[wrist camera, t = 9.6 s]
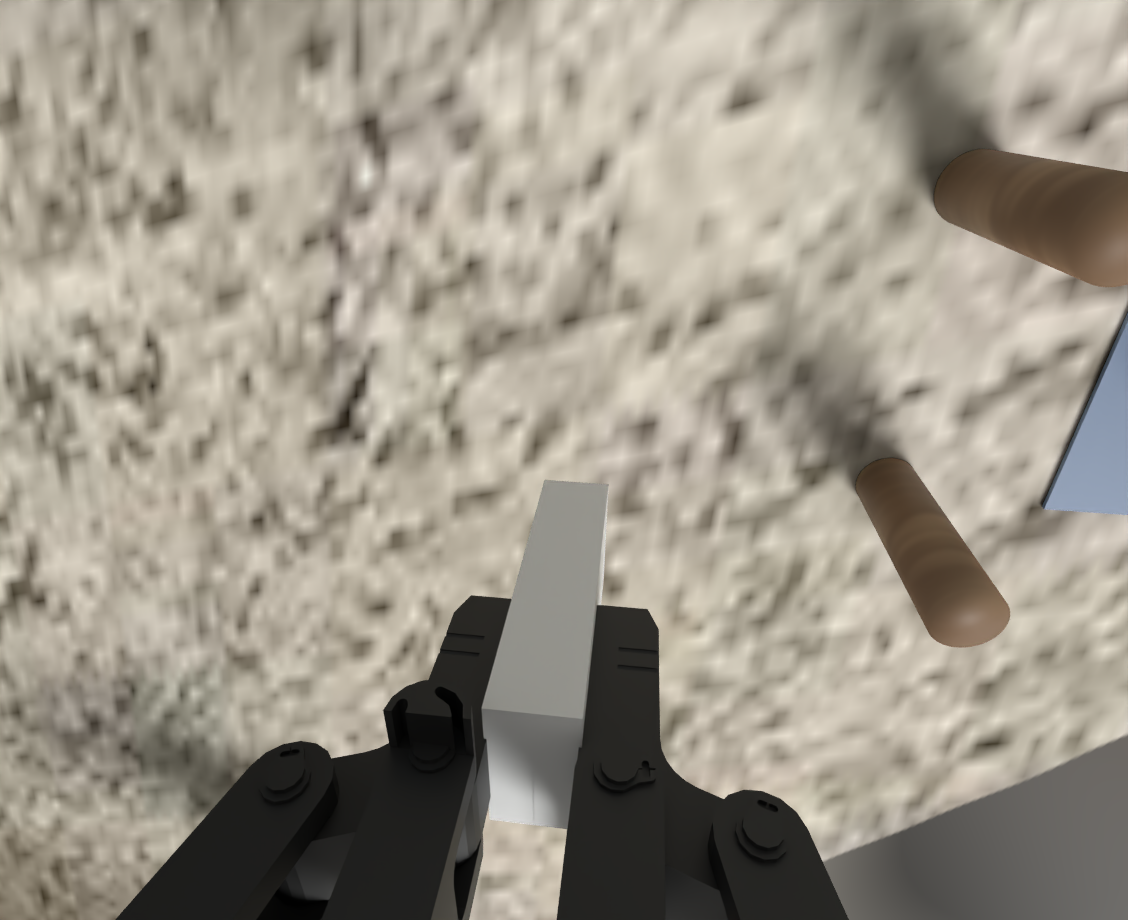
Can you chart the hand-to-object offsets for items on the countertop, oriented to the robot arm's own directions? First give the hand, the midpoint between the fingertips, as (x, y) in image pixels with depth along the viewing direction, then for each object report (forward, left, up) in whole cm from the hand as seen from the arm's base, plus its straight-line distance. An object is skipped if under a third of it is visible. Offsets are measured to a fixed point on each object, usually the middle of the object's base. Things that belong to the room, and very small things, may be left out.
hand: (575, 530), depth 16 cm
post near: (-6, +13, -14) cm, 20 cm away
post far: (+6, +13, -14) cm, 20 cm away
